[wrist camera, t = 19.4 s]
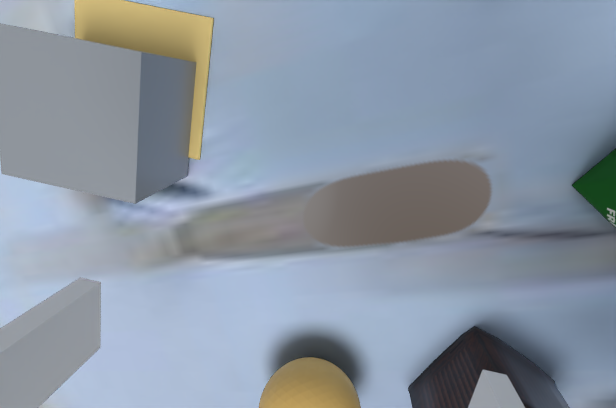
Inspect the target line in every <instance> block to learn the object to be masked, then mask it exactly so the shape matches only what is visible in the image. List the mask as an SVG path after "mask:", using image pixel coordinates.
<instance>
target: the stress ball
mask: <svg viewBox="0 0 616 408" xmlns="http://www.w3.org/2000/svg"><path fill="white" fill-rule="evenodd" d="M259 408H361V407H360V402H359V398H358V395H357V392H356V390H355V387H354V386H353V384H352V382H351V380H350V379H349V378H348V376H347V375H346V374H345V373H344V372H343V371H342V370H341V369H340V368H338V367H337V366H336V365H334V364H333V363H331V362H329V361H326V360H324V359H320V358H314V357H305V358H299V359H296V360H293V361H291V362H289V363H287V364H285V365H284V366H282V367H281V368H280V369H278V370H277V371H276V372H275V373H274V374H273V376H272V377H271V378H270V379H269V381H268V383H267V384H266V386H265V388H264V390H263V393H262V395H261V399H260V403H259Z"/></svg>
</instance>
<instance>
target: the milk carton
mask: <svg viewBox="0 0 616 408" xmlns="http://www.w3.org/2000/svg"><path fill="white" fill-rule="evenodd" d="M572 186H573V187H574V188H575V189H576V190H577V191H578V192H579V193H580V194H581V195H582V196H583V197H584V198H585V199H586V200H587V201H588V202H589V203H590V204H591V205H592V206H594V207H595V208H596V209H597V210H598V211H599V212H600V213H601V214H602V215H603V216H604V217H605V218H606V219H607V220H608V221H609V222H610V223H611V224H612V225H613V226H614V227H615V228H616V149H615V150H614V151H612V152H611V153H610V154H609V155H608V156H606V157H605V158H604V159H603V160H602V161H600V162H599V163H598V164H597V165H596V166H594V167H593V168H592V169H591V170H589V171H588V172H587V173H586V174H585V175H583V176H582V177H581V178H580V179H579V180H577V181H576V182H575V183H574V184H573V185H572Z"/></svg>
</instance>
